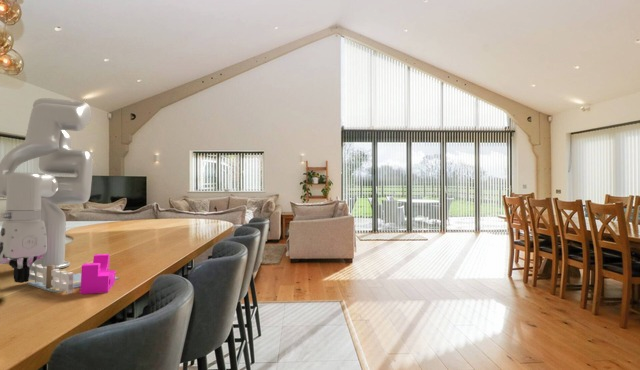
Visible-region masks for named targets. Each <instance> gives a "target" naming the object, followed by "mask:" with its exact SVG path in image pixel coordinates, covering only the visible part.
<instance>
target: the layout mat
mask: <svg viewBox="0 0 640 370" xmlns="http://www.w3.org/2000/svg"><path fill="white" fill-rule="evenodd" d="M116 280H120V277H117V276H115V281H116ZM25 283H26V284H25V285H29V286H31V285H32V287H35V288H38V289H42V290H45V291H47V292H50V293H54V294H56V293H60V292H61V291H59V289H52V288H50V289H47V288H46V285H45V286H44V285H42V282H40V283H35V280H33V281H28V282H25ZM78 288H79V289H80V288H81V272H78V273H73V290H74V289H78Z"/></svg>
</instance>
